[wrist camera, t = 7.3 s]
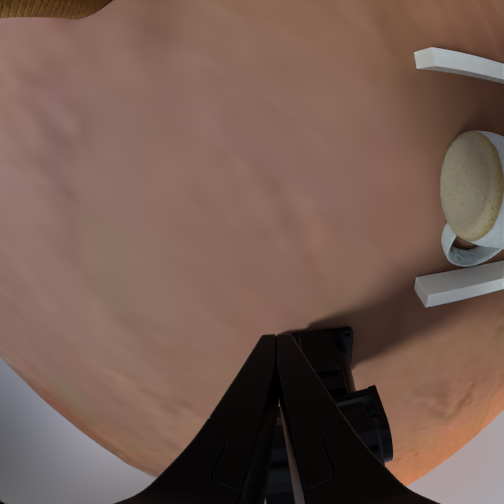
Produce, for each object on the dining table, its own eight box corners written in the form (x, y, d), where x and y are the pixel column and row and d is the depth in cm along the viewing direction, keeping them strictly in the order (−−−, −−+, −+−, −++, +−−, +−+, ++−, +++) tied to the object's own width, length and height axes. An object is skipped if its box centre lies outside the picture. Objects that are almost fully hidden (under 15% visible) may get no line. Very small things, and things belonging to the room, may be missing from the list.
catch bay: (513, 273, 20) (526, 286, 18) (412, 295, 22) (424, 313, 20) (528, 72, 12) (547, 73, 9) (412, 43, 13) (430, 38, 11)
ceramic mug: (439, 118, 15) (513, 138, 9) (512, 140, 15) (579, 169, 8) (416, 256, 20) (461, 321, 14) (486, 257, 20) (534, 309, 13)
